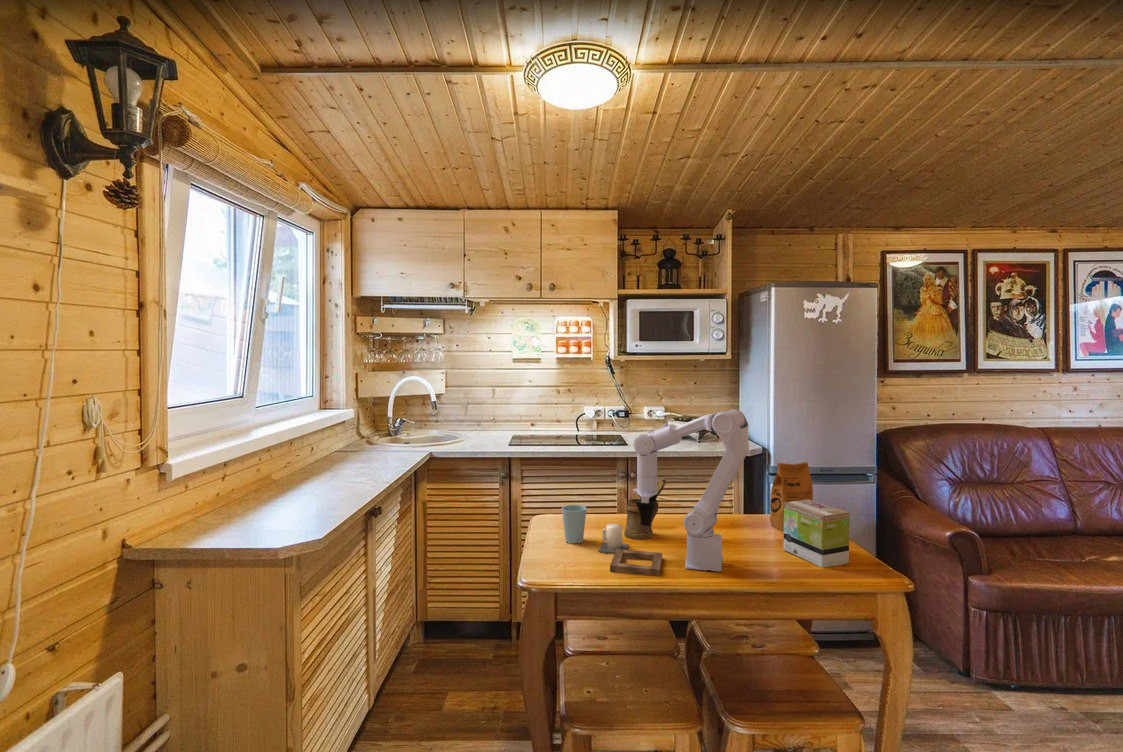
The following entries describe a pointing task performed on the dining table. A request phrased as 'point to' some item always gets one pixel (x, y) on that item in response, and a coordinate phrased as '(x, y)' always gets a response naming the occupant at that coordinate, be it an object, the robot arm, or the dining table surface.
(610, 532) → the jug
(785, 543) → the tea box
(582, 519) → the cup
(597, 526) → the dining table surface
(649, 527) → the wooden mug
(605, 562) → the dining table surface
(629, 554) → the jug holder
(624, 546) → the mat
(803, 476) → the coffee package
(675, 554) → the dining table surface
